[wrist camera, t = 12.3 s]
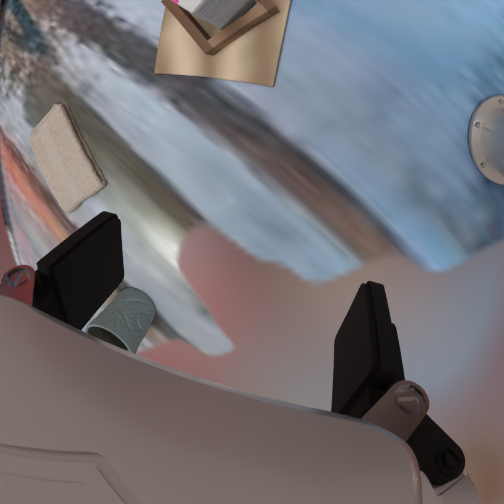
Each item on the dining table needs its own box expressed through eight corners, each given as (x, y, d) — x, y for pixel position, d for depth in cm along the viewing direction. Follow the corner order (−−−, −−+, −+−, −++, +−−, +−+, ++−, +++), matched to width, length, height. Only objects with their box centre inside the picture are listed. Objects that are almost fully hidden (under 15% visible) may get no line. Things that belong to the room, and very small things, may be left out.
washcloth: (66, 96, 39) (54, 99, 37) (112, 182, 46) (101, 189, 43) (34, 133, 44) (23, 138, 41) (75, 210, 51) (64, 217, 48)
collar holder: (299, -36, 24) (296, -47, 21) (273, 86, 34) (268, 86, 30) (179, -40, 26) (167, -48, 22) (157, 73, 35) (142, 73, 32)
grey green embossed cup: (165, 303, 56) (136, 347, 46) (152, 331, 62) (127, 372, 51) (121, 275, 55) (86, 315, 45) (113, 306, 61) (83, 344, 51)
